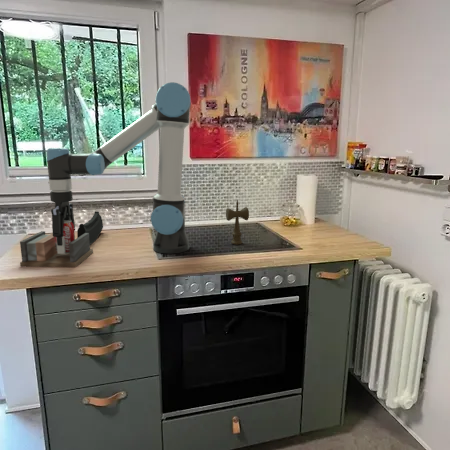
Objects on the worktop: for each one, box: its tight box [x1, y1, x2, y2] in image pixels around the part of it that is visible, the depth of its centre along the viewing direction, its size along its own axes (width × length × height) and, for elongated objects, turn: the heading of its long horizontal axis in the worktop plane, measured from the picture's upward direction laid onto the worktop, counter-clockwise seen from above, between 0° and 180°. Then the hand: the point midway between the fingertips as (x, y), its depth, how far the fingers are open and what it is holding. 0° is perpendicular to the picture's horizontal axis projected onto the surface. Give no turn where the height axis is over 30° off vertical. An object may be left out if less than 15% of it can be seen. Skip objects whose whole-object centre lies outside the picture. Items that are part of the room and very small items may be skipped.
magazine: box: [76, 211, 104, 245], centre depth 170 cm, size 18×3×31 cm
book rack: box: [19, 230, 94, 268], centre depth 144 cm, size 20×18×9 cm
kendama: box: [225, 199, 250, 246], centre depth 167 cm, size 6×10×20 cm, turn 105°
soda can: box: [55, 220, 76, 254], centre depth 143 cm, size 7×7×12 cm
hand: (66, 250), depth 144 cm, fingers closed on soda can, 7 cm apart
